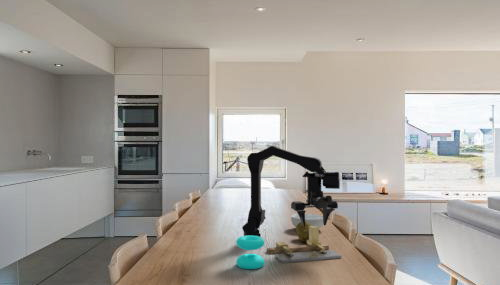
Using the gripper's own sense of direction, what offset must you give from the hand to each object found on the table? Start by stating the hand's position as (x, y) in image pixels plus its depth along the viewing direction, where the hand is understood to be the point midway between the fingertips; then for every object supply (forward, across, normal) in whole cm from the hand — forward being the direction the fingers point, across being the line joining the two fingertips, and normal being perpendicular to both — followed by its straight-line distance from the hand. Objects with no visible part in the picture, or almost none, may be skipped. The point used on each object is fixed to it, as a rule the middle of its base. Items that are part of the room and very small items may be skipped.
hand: (314, 225), depth 157 cm
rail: (+10, -7, -4) cm, 13 cm away
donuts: (+10, -31, -14) cm, 35 cm away
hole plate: (+10, -7, -10) cm, 16 cm away
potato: (+10, +2, +14) cm, 17 cm away
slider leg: (+8, 0, -3) cm, 9 cm away
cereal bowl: (+10, +12, +34) cm, 37 cm away
